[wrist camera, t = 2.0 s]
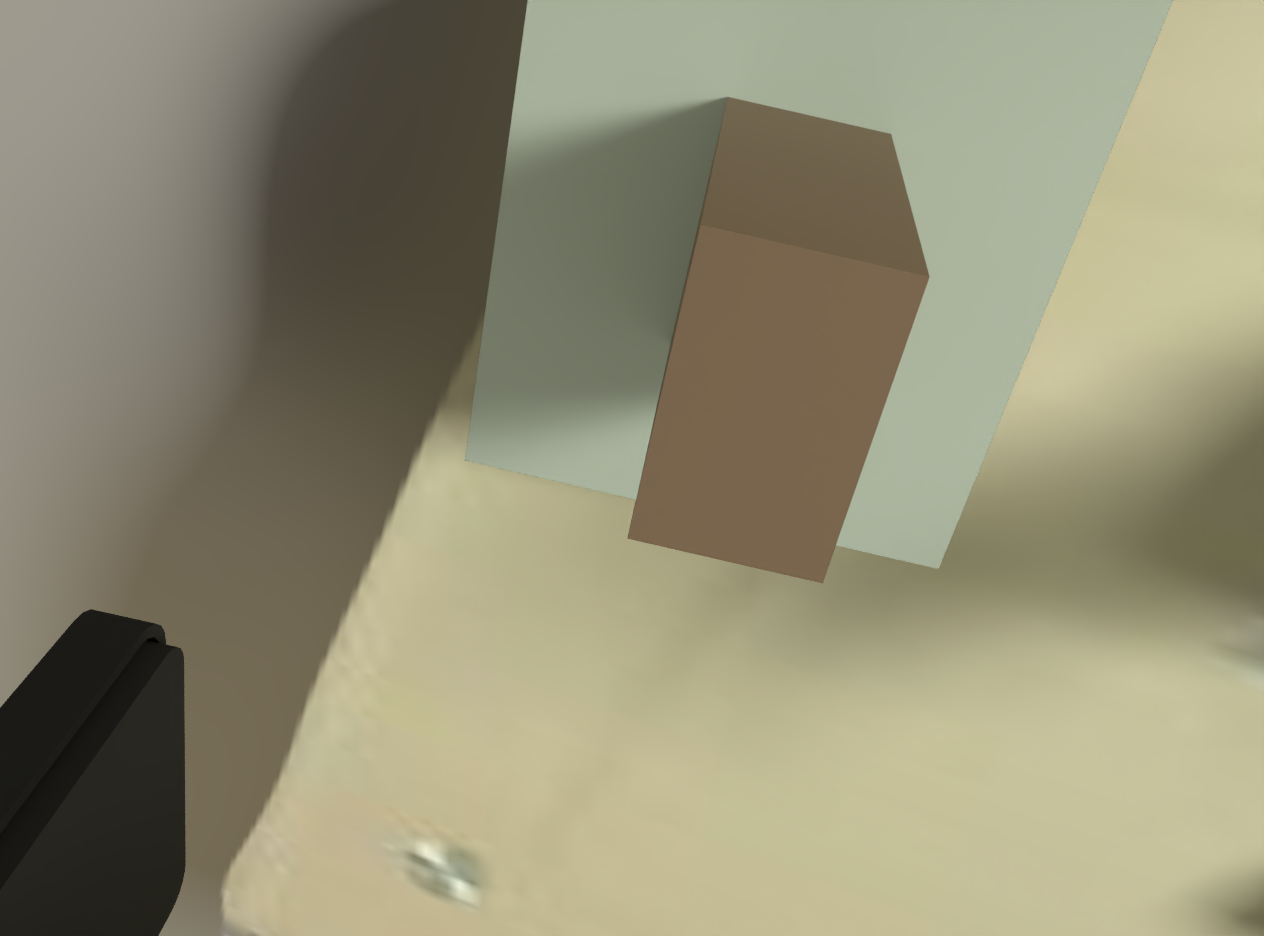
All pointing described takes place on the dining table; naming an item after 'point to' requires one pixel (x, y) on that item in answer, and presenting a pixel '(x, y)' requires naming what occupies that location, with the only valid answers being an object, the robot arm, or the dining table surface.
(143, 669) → the robot arm
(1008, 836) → the dining table surface
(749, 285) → the lid
